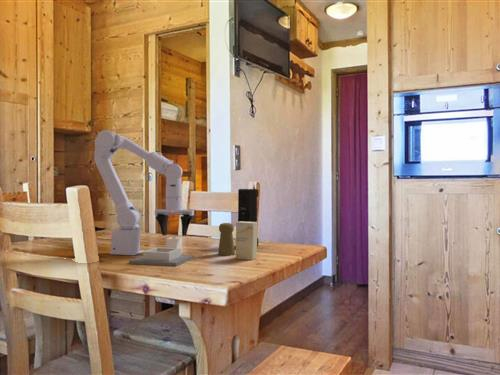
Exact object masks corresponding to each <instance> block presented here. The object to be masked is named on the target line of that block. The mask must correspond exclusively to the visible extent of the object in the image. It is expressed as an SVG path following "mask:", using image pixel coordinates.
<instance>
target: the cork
mask: <svg viewBox="0 0 500 375" xmlns="http://www.w3.org/2000/svg"><path fill="white" fill-rule="evenodd" d="M234 229H235V226H234V224H233V223H231V222H223V223H220V224H219V226H218V230H219V232H220V234H219V243H218V251H217V255H218V256H222V257H230V256H231V255H232V256H234V255H235V256H236V249H235V244H234V236H233V232H234Z"/></svg>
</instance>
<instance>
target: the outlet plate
mask: <svg viewBox="0 0 500 375" xmlns="http://www.w3.org/2000/svg"><path fill="white" fill-rule="evenodd" d="M194 259H195V254H182V253H181V248H166V247H159V246H158V247H157V246H156V247H154V248H150V249H148V250H144V251H143V252H142V256H138V257H135V258H132V259H129V260H128V264H132V265H148V266H150V265H151V266H166V267H167V266H169V267H177V266H180V265H182V264H184V263H186V262H188V261H191V260H194Z"/></svg>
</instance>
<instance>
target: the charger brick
mask: <svg viewBox="0 0 500 375" xmlns="http://www.w3.org/2000/svg"><path fill="white" fill-rule="evenodd" d="M165 248H181V254H182V253H183V236H170V237H168V238H165Z"/></svg>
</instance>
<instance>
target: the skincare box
mask: <svg viewBox="0 0 500 375" xmlns="http://www.w3.org/2000/svg"><path fill="white" fill-rule="evenodd" d="M257 238H258V221H257V222H244V221H240V222H238V221H236V224H235V260H236V259H238V260H245V261H246V260H248V261H253V260H254V259H257V258H258V257H257V255H258V247H257Z"/></svg>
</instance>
